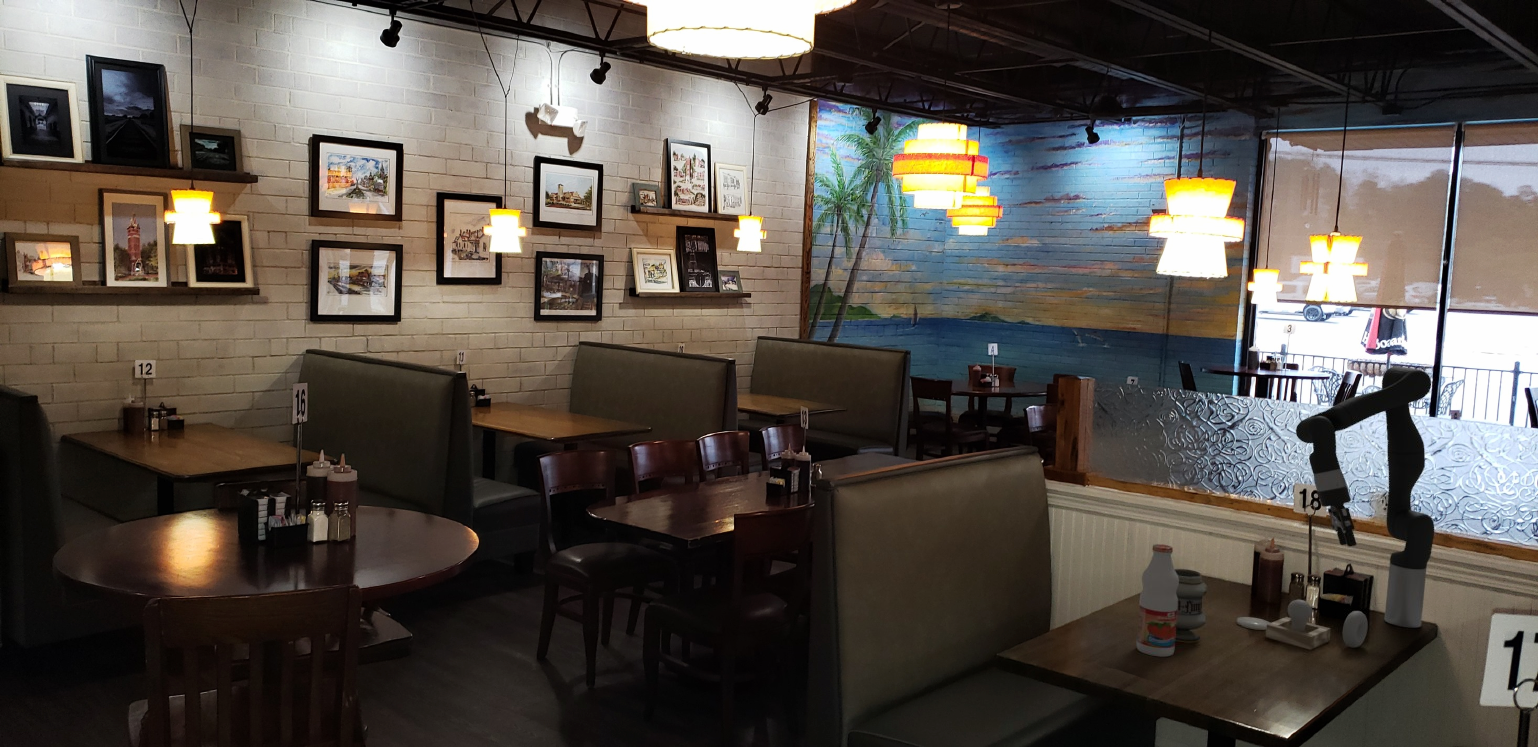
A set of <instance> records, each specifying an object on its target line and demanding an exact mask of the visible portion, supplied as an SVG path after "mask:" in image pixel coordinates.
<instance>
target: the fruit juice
mask: <svg viewBox="0 0 1538 747" xmlns="http://www.w3.org/2000/svg"><path fill="white" fill-rule="evenodd" d="M1151 550H1152V552H1153V553H1152V557H1151V559H1150V561H1149V564H1148V565H1147V567H1146V568H1145V569H1144V570H1143V572H1142V575H1141V584H1142V591H1141V592H1140V596H1139V602H1138V603H1139V604H1138V605H1139V606H1138V618H1137V633H1136V648H1137V650H1138V651H1139V652H1141V653H1143V654H1144V655H1148V656H1153V657H1161V658H1163V657H1165V658H1166V657H1171V656H1173V655H1174V653H1175V649H1176V646H1175V645H1176V641H1175V636H1176V623H1177V610H1178V598H1177V595H1176V591H1177V588H1178V585H1179V578H1178V575H1177V573H1176V572H1175V569H1176V568H1175V566H1174V564H1173V560H1172V554H1173V551H1174V550H1173V546H1171V545H1168V544H1161V543H1158V544H1157V543H1155V544H1153V545H1152V548H1151Z"/></svg>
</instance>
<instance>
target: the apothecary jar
mask: <svg viewBox="0 0 1538 747" xmlns="http://www.w3.org/2000/svg"><path fill="white" fill-rule="evenodd" d="M1174 569H1175V572H1176V573H1177V575H1178V578H1179V585H1178V588H1177V591H1176V595H1177V598H1178V610H1177V623H1176V636H1175V642H1179V643H1185V644H1186V643H1187V644H1193V643H1198V642H1199V641H1201V636H1200V635H1198V633H1196V632H1194V630H1197V629H1200V628H1202V627H1203V626H1204V625H1205V624H1206V622H1207V616H1206V614H1205V612H1204V611H1203V597H1204V596H1205V595H1207V593H1208V591H1209V590H1208V586H1207V584H1206V582H1204V581H1203V579H1202V578H1203V576H1202V573H1200V571H1197V570H1193V569H1188V568H1174ZM1192 630H1193V631H1192Z"/></svg>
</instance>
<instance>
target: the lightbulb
mask: <svg viewBox="0 0 1538 747" xmlns="http://www.w3.org/2000/svg"><path fill="white" fill-rule="evenodd" d="M1287 614H1288V616H1289V617H1288V618H1290V619H1291V622H1292V629H1293V630H1296V631H1300V632H1304V630H1305V626H1306V623H1309V620H1310V619H1311V618H1312V615H1313V607H1312V606H1311V605H1310V603H1308V601H1306V600H1303V599H1294V600H1292V601H1291V602H1290V603H1289V604H1288V606H1287Z"/></svg>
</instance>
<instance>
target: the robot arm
mask: <svg viewBox="0 0 1538 747" xmlns="http://www.w3.org/2000/svg"><path fill="white" fill-rule="evenodd" d="M1431 389H1432V380H1431V377H1430V375H1429V374H1428V373H1427V372H1425V371H1423V370H1422V369H1418V368H1413V367H1407V366H1391V367H1389V368H1388V369H1387V370H1386V371H1385V372H1384V374H1383V376H1382V381H1381V389H1379V390H1376V391H1372V392H1368V393H1363V394H1360V395H1356V396H1352V397H1350V398H1347V399H1345V400H1344V401H1343V400H1342V401H1341V402H1339V403H1337V404H1335V405H1333V406H1332V407H1329V408H1328V409H1326V410H1324V411H1321V412H1318V413H1316V414H1314V415H1311V416H1308V417H1306V418H1304V419H1302V420H1301V421H1300V422H1299V423H1298V424H1297V426H1296V428H1295V434H1296V437H1297V438H1298V439H1299V441H1300V442H1303V443H1305V444H1312V449H1313V451H1312V453H1310V454H1309V457H1308V460H1309V463H1310V467H1311V471H1312V474H1313V479H1314V480H1313V481H1314V485H1315V489H1316V492H1317V495H1318V498H1319V501H1320V502H1319V503H1320V505H1321V507H1324V508H1325V507H1329V508H1327V512H1328V514H1329V518H1330V521H1331V522H1330V523H1331V526H1332V529H1333V530H1334V531H1335V533H1336V535H1337V538H1338V541H1339V544H1340V545H1341V546H1346V545H1347V547H1355V546H1357V541H1356V537H1355V534H1354V530H1355V525H1354V521H1353V519H1352V515H1351V512H1350V509H1349V507H1345V505H1344V504H1347V503H1350V502H1351V501H1352V500H1351V499H1352V498H1351V496H1350V492H1349V488H1348V485H1347V482H1346V478H1345V476H1344V474H1343V472H1342V469H1341V466H1340V461H1339V459H1338V456H1337V437H1336V432H1339V431H1343V430H1346V429H1348V428H1350V427H1353V426H1354V425H1356V424H1358V423H1361V422H1362V421H1364V420H1367V419H1369V418H1371V417H1373V416H1375V415H1377V414H1381V413H1383V412H1385V421H1386V434H1387V435H1386V437H1387V451H1386V452H1387V467H1388V469H1387V470H1388V495H1387V496H1388V497H1387V509H1386V528H1387V532H1388V534H1389V535H1390V537H1392V538H1393V539H1396V540H1399V541H1403V542H1405V545H1404V549H1403V550H1402V551H1394V552H1392V553H1390V558H1389V569H1388V579H1387V590H1386V599H1385V610H1384V621H1385V622H1387V623H1388V624H1391V625H1394V626H1398V627H1404V628H1411V629H1412V628H1413V629H1414V628H1421V626H1422V618H1423V610H1424V609H1423V607H1424V600H1425V598H1424V597H1425V588H1426V577H1427V567H1428V563H1429V560H1430V559H1431V554H1432V550H1433V549H1432V548H1433V543H1434V537H1435V523H1434V520H1433V518H1432V517H1431V516H1430V515H1428V514H1426V513H1424V512H1419V511H1415V510H1412V505H1411V502H1412V501H1411V500H1412V499H1411V497H1412V491H1413V489H1414V487H1415V485H1416V483H1418V480H1419V479H1420V478H1421V475H1422V474H1423V472H1424V469H1425V466H1426V457H1425V456H1426V455H1425V453H1426V452H1425V443H1424V440H1423V438H1422V436H1421V433H1420V432H1419V429H1418V428H1417V425H1416V424H1415V422H1414V420H1413V418H1412V415H1411V409H1410V403H1413V402H1417V401H1419V400H1422V399H1424V398H1425V397H1426V396H1427V395H1428V394H1429V392H1430V391H1431Z"/></svg>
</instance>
